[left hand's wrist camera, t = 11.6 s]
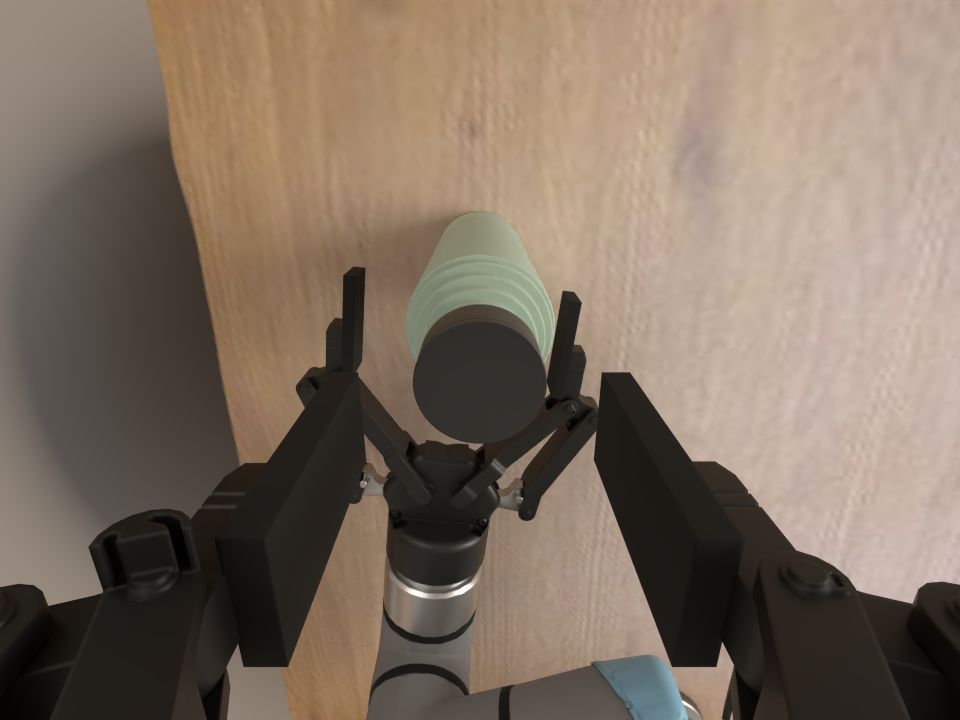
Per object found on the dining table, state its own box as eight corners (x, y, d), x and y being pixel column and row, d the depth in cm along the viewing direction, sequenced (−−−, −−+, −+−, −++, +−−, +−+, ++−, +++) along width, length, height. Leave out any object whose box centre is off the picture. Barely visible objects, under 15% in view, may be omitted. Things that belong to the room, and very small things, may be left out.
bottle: (453, 306, 40) (422, 483, 18) (425, 227, 38) (352, 320, 16) (532, 282, 39) (596, 435, 18) (508, 199, 37) (548, 258, 15)
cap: (442, 429, 19) (439, 458, 17) (401, 324, 18) (392, 344, 16) (553, 397, 19) (562, 423, 17) (521, 287, 17) (526, 303, 15)
